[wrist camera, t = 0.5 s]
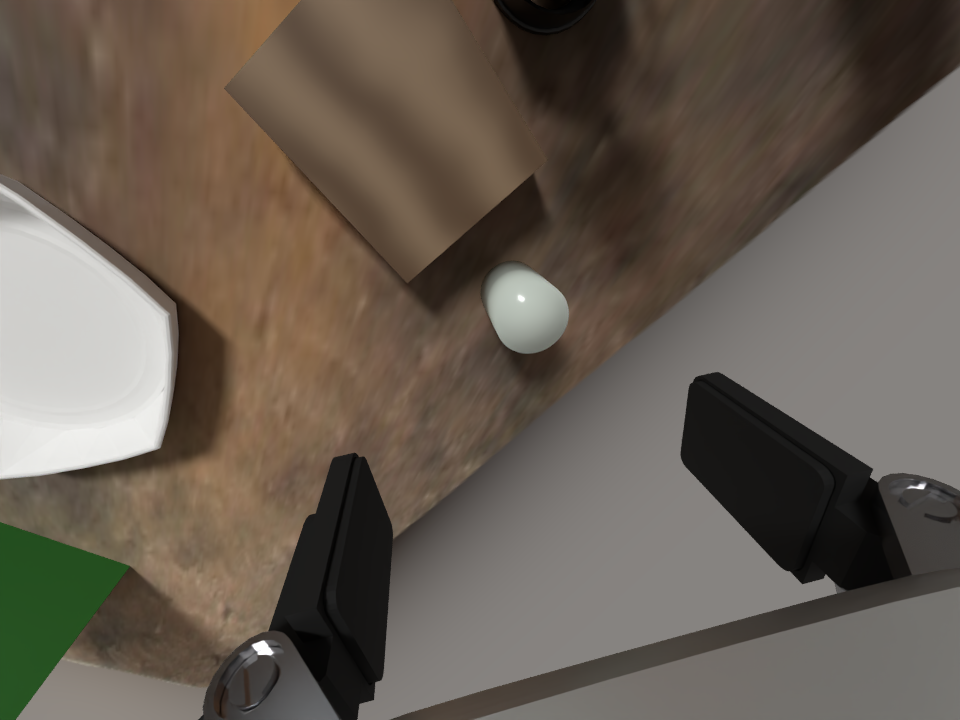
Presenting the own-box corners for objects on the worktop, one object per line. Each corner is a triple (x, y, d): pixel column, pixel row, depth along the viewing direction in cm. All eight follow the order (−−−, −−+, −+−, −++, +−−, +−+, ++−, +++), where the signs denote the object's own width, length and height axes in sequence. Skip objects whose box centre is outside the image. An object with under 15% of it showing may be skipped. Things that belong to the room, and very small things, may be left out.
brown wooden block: (395, -52, 24) (390, -103, 20) (529, 162, 31) (547, 160, 27) (256, 103, 27) (223, 88, 22) (409, 269, 34) (407, 283, 29)
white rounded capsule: (517, 247, 34) (542, 265, 27) (551, 294, 37) (582, 322, 30) (468, 288, 35) (480, 316, 28) (504, 331, 38) (523, 366, 31)
